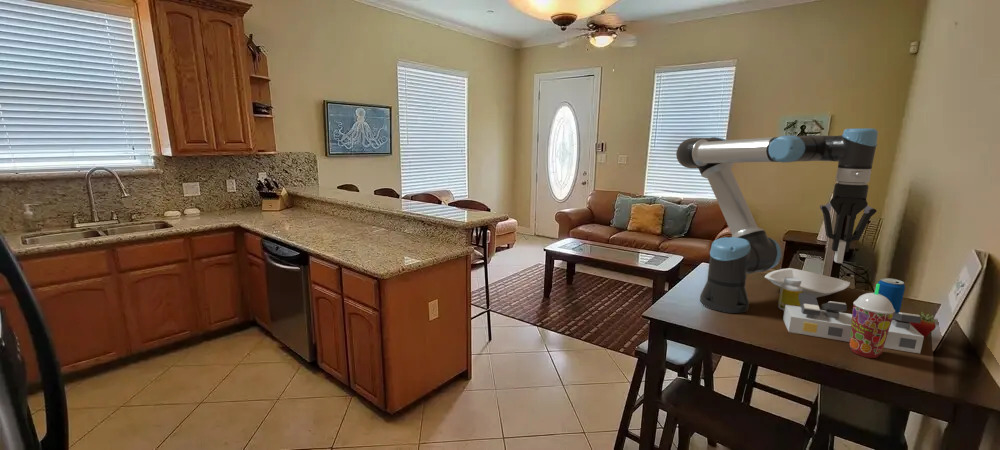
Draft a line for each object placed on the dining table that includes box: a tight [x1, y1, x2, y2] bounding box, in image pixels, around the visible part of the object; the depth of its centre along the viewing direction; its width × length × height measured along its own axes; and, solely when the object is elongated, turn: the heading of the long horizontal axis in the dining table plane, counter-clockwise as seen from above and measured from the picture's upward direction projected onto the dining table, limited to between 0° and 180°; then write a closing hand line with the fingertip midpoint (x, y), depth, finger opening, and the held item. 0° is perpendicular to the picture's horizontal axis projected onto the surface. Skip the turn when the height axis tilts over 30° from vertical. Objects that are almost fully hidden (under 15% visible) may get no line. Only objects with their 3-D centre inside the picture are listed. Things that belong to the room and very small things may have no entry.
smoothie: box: [848, 283, 895, 359], centre depth 111 cm, size 8×8×20 cm
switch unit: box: [782, 305, 925, 354], centre depth 123 cm, size 30×10×7 cm, turn 64°
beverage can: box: [877, 277, 906, 313], centre depth 136 cm, size 6×6×12 cm
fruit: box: [909, 310, 937, 339], centre depth 121 cm, size 5×5×8 cm
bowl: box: [764, 267, 851, 299], centre depth 156 cm, size 22×23×6 cm
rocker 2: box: [820, 300, 848, 313], centre depth 124 cm, size 4×8×2 cm, turn 154°
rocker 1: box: [798, 293, 821, 316], centre depth 126 cm, size 4×8×2 cm, turn 154°
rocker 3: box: [892, 311, 921, 323], centre depth 117 cm, size 4×8×2 cm, turn 154°
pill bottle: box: [777, 277, 803, 312], centre depth 141 cm, size 6×6×11 cm
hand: (837, 261), depth 124 cm, fingers closed
